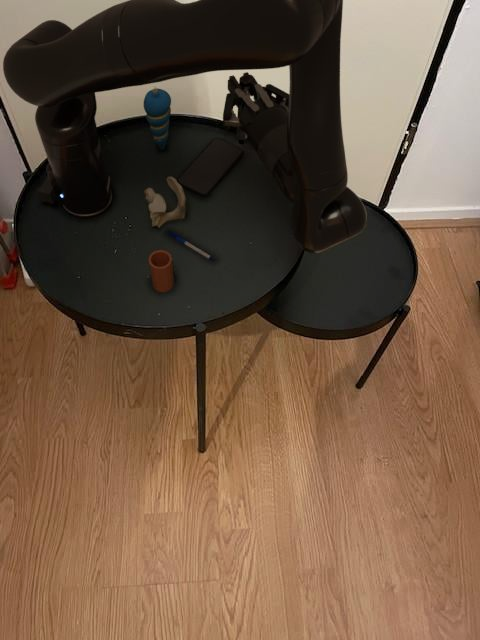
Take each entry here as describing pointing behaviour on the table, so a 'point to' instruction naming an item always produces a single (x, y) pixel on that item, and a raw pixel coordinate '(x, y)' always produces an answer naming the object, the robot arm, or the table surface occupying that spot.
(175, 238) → the ballpoint pen
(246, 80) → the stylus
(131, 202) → the table surface
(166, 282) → the pen cup
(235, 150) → the smartphone
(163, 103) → the ornament
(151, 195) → the bone
